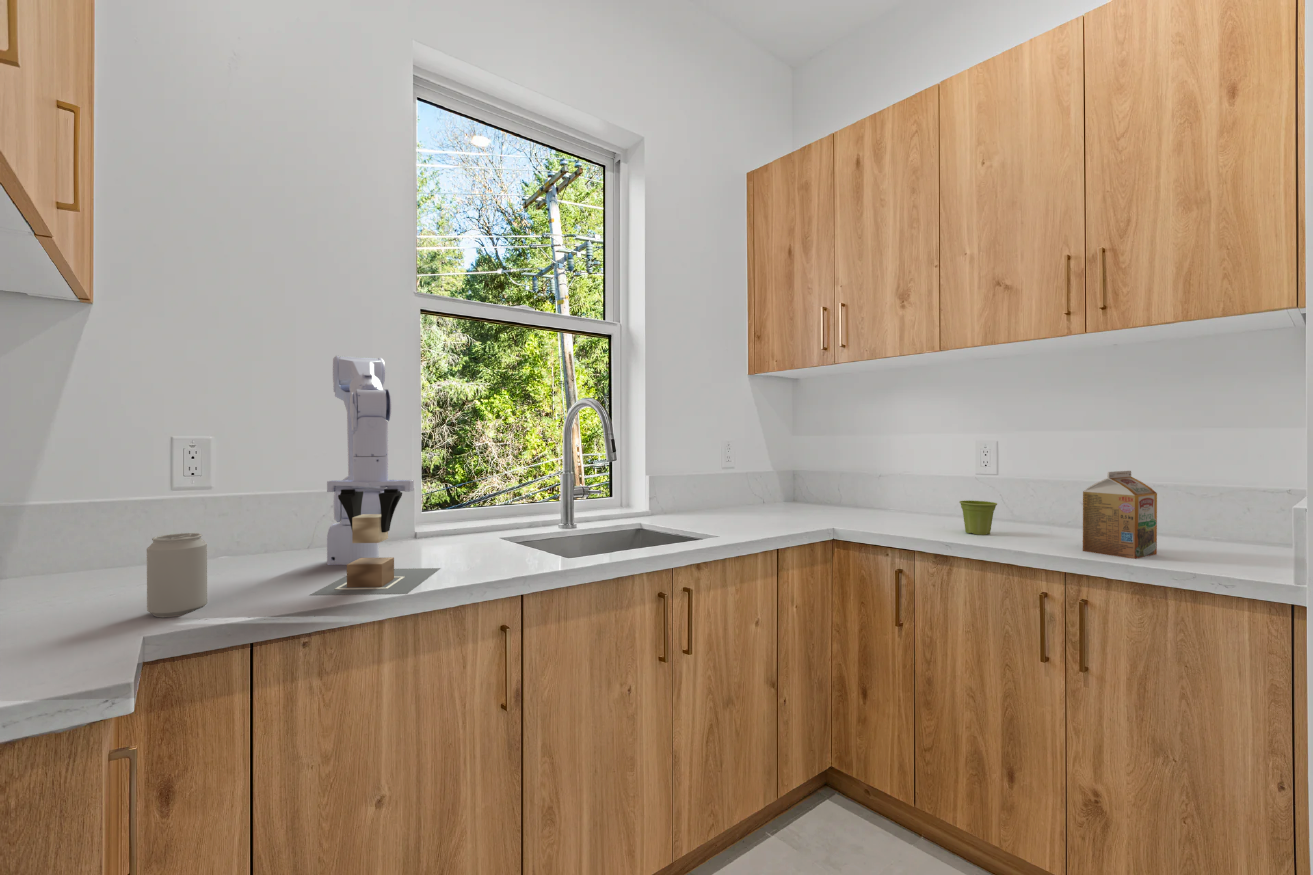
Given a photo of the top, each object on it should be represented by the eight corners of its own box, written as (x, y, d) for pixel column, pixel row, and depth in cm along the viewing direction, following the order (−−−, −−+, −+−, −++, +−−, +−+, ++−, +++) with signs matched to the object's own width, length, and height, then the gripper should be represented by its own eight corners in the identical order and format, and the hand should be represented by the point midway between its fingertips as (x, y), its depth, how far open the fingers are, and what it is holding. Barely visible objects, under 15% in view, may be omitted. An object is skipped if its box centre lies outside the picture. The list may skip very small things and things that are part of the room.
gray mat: (309, 599, 105) (309, 594, 105) (359, 573, 125) (359, 568, 125) (407, 598, 106) (407, 592, 106) (440, 572, 126) (440, 567, 126)
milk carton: (1134, 558, 139) (1134, 473, 139) (1082, 551, 148) (1083, 470, 148) (1156, 554, 145) (1157, 471, 144) (1105, 547, 154) (1105, 469, 154)
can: (156, 608, 100) (155, 532, 100) (212, 603, 103) (212, 530, 103) (139, 621, 93) (138, 540, 93) (200, 615, 96) (199, 537, 96)
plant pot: (990, 531, 178) (990, 500, 178) (1002, 536, 169) (1002, 504, 169) (955, 530, 180) (955, 500, 180) (964, 535, 171) (964, 503, 171)
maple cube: (352, 543, 111) (352, 517, 111) (362, 538, 115) (362, 514, 115) (378, 542, 111) (378, 517, 111) (387, 538, 115) (387, 514, 115)
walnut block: (346, 587, 110) (346, 564, 110) (360, 579, 116) (360, 557, 116) (381, 586, 111) (381, 564, 110) (394, 578, 117) (394, 557, 116)
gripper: (318, 457, 109) (318, 535, 109) (404, 457, 110) (404, 534, 110) (336, 455, 116) (337, 529, 116) (417, 455, 117) (417, 528, 117)
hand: (370, 531), depth 113 cm, fingers closed on maple cube, 4 cm apart
